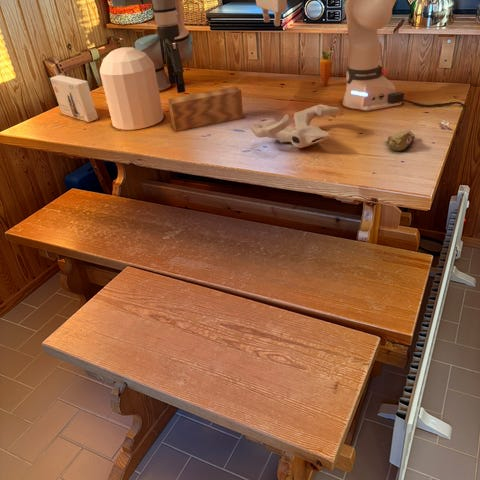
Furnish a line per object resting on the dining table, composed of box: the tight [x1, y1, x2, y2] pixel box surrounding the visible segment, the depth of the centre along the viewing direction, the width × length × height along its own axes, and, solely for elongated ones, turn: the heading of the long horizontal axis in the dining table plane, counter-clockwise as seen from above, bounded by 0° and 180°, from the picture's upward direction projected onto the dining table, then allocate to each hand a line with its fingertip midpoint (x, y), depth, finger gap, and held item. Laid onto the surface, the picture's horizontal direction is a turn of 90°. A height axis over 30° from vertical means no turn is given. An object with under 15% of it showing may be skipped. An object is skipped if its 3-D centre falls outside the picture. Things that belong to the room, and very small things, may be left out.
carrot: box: [319, 49, 333, 86], centre depth 201 cm, size 5×5×15 cm
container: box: [99, 46, 164, 131], centre depth 180 cm, size 21×21×28 cm
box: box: [167, 86, 244, 132], centre depth 177 cm, size 27×6×11 cm, turn 109°
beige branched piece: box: [250, 104, 341, 149], centre depth 155 cm, size 28×26×12 cm
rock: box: [387, 129, 416, 152], centre depth 146 cm, size 11×6×10 cm
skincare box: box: [49, 74, 99, 123], centre depth 193 cm, size 21×5×16 cm, turn 49°
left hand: (177, 87), depth 169 cm, fingers open, 13 cm apart
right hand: (271, 23), depth 164 cm, fingers open, 8 cm apart
